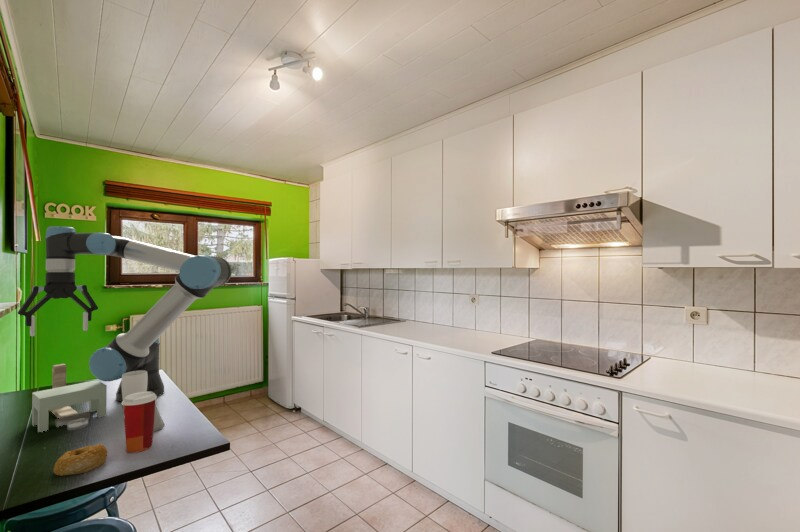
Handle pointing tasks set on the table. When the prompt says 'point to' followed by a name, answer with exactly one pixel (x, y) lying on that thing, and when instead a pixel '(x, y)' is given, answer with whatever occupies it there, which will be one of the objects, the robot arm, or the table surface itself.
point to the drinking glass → (134, 383)
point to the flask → (157, 419)
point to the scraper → (66, 412)
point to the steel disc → (77, 424)
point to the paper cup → (139, 420)
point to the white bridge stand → (67, 400)
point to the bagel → (80, 460)
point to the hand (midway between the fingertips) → (60, 333)
